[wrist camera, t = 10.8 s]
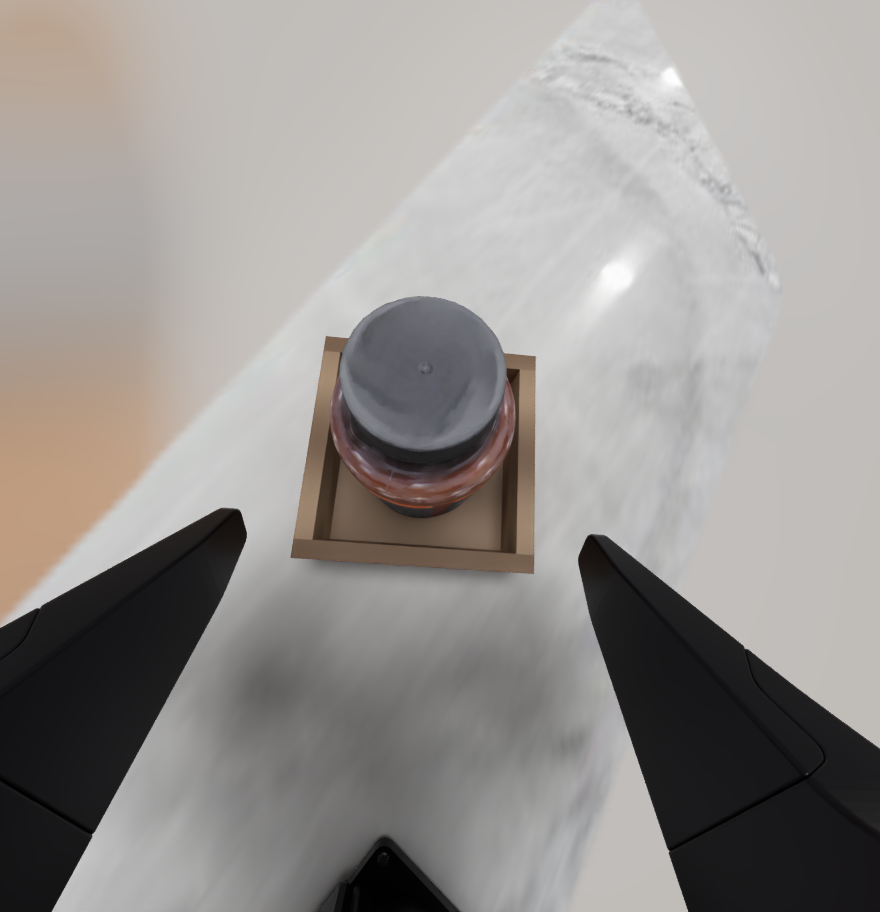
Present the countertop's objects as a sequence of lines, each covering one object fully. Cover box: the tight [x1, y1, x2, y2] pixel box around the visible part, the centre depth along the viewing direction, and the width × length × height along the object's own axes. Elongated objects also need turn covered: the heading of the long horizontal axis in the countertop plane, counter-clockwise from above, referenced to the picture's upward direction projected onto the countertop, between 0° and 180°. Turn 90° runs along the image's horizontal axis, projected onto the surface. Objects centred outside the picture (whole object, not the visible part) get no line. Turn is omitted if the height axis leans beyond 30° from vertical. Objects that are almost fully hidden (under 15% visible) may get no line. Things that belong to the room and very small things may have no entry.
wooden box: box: [291, 336, 536, 574], centre depth 18 cm, size 11×11×4 cm
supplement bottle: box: [330, 296, 516, 518], centre depth 13 cm, size 6×6×11 cm
